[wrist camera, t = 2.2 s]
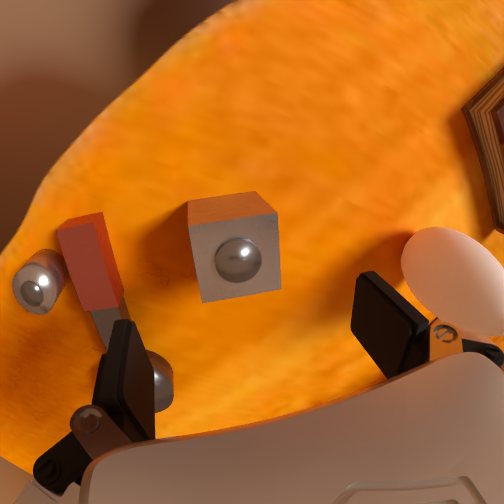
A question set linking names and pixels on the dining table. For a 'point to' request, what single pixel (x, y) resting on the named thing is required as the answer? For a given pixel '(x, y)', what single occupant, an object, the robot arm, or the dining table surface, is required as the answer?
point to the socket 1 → (41, 281)
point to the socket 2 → (234, 245)
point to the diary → (490, 141)
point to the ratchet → (104, 288)
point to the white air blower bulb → (456, 280)
